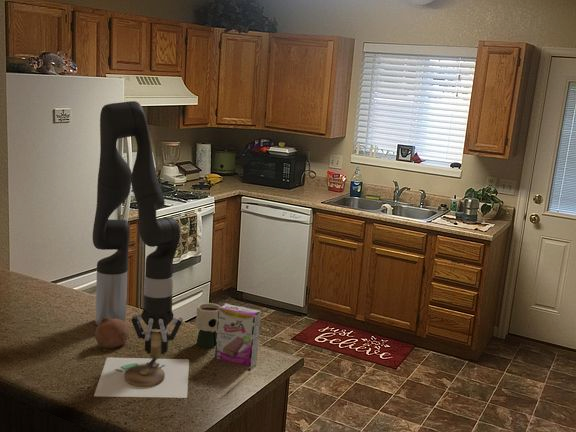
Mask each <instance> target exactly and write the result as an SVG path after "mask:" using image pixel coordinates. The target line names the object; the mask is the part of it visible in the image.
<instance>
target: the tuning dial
mask: <svg viewBox="0 0 576 432" xmlns="http://www.w3.org/2000/svg"><path fill="white" fill-rule="evenodd" d="M162 341H163V339H162V334H161V331H160V330H159V329H152V331H151V345H150V354H149V358H150V359H152V360H151V362H150V363H149V364H148V365H142V366H135V367H132V368H130V369H128V370H127V371H126V372H125V381H126V382H127V383H129V384H131V385H135V386H143V387H145V386H153V385H157V384H159V383H161V382H162V381H163V380H164V378H165V372H164V371H163V370H162V369H161V368H158V367H155V366H153V364H154V363H155V361H156V360H157V359H163V355H162Z"/></svg>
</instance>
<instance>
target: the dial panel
mask: <svg viewBox="0 0 576 432" xmlns="http://www.w3.org/2000/svg"><path fill="white" fill-rule="evenodd" d="M151 360H152V358H150V357H149V358H148V357H147V358H146V357H145V358H144V357H143V358H142V357H106V359H105V362H104V366H103V369H102V370H101V374H100V377H99V380H98V383H97V385H96V388H95V392H94V394H93V397H104V398H105V397H113V398H115V397H116V398H119V397H120V398H123V397H124V398H171V399H173V398H175V399H177V398H179V399H181V398H182V399H184V398H185V399H188V392H189V391H188V389H189V387H188V386H189V367H190V359H187V358H186V359H181V358H179V359H178V358H160V359H157V360H156V361H155V363H154V364H153V366H155V367H158V368H161V369H162V370H163V371H164V372H165V378H164V380H163V381H162V382H161V383H159V384H157V385H153V386H145V387H143V386H135V385H131V384H129V383H127V382H126V381H125V372H126V371H127V370H128V369H130V368H132V367H135V366H142V365H148V364H149V363H150V362H151Z"/></svg>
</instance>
